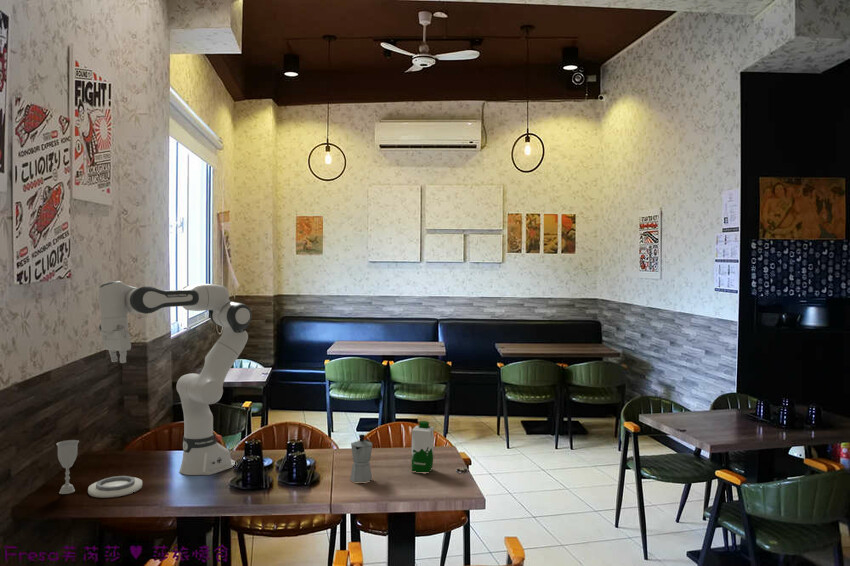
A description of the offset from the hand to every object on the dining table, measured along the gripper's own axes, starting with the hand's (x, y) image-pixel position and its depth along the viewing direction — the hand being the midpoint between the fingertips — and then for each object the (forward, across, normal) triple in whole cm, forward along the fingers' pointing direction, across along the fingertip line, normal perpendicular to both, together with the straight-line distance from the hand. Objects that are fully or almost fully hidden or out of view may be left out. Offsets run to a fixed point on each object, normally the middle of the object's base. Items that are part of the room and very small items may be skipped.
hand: (118, 362), depth 226 cm
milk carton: (+61, -54, -96) cm, 126 cm away
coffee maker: (+58, -46, -71) cm, 102 cm away
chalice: (+45, +14, +18) cm, 51 cm away
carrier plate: (+47, +5, +4) cm, 48 cm away
